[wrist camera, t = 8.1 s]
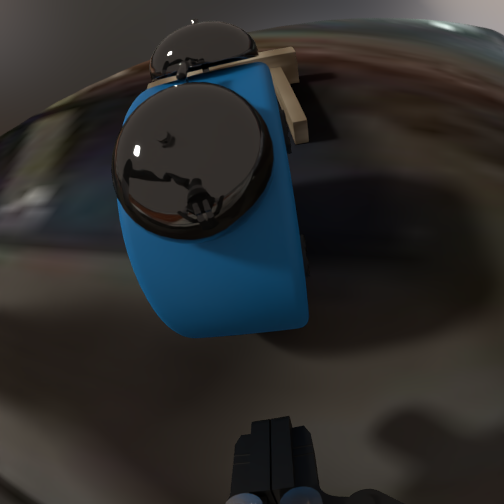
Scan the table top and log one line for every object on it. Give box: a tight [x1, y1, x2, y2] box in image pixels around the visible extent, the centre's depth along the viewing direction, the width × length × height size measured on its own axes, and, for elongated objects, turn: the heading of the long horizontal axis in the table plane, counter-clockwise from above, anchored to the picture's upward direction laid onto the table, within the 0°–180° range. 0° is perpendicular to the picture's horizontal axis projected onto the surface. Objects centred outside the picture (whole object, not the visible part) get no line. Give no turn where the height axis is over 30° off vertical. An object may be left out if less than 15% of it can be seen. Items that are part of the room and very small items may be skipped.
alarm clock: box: [111, 19, 310, 338], centre depth 15 cm, size 13×6×15 cm, turn 3°
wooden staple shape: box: [147, 47, 309, 144], centre depth 28 cm, size 16×12×4 cm
